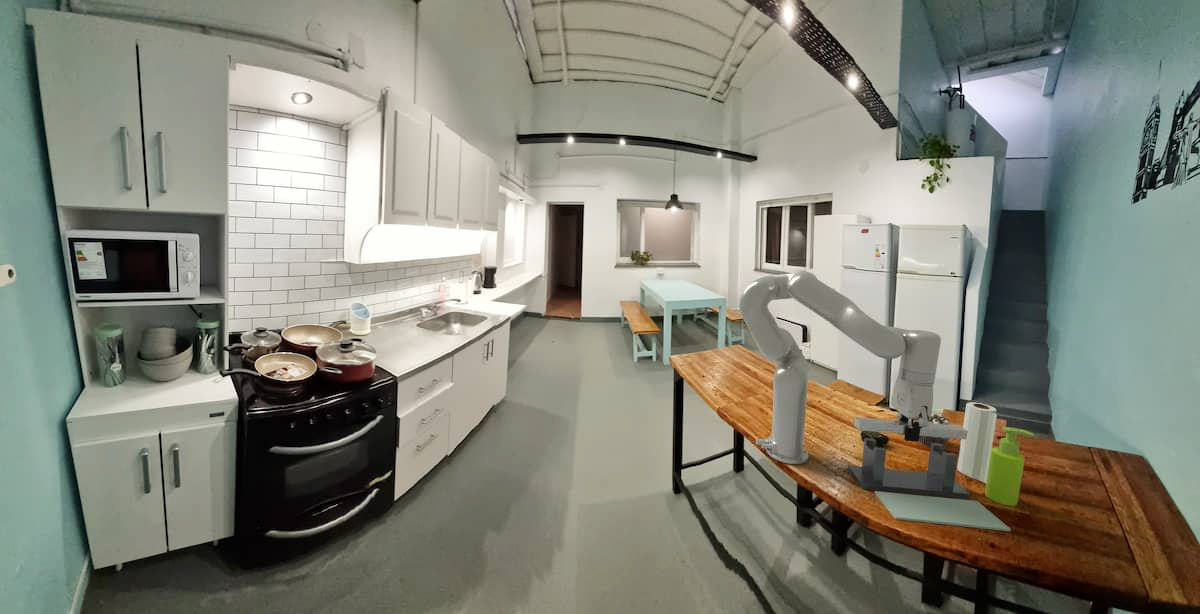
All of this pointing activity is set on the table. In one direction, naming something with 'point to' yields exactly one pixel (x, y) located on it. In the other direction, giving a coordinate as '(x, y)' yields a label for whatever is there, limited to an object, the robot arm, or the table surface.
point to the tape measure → (875, 437)
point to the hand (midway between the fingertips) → (907, 436)
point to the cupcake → (929, 439)
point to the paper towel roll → (977, 441)
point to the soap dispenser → (1006, 469)
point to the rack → (909, 473)
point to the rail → (900, 426)
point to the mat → (940, 511)
